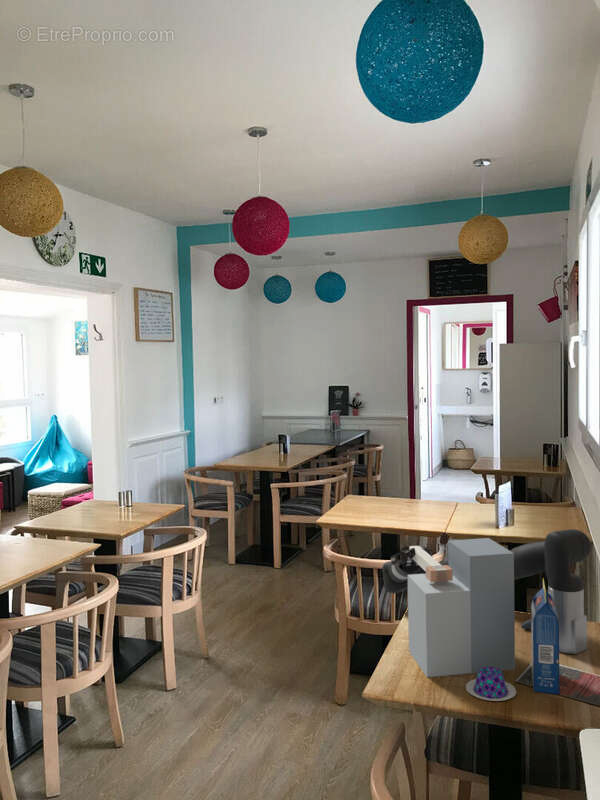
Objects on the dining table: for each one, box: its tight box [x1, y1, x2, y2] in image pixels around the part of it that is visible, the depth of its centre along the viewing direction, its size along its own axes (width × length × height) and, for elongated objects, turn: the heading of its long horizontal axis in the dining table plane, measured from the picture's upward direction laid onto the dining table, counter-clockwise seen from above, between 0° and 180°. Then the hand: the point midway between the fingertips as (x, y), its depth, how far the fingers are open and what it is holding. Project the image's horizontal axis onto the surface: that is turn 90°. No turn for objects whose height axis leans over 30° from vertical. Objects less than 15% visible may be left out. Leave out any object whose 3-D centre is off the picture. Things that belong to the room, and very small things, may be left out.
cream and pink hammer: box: [408, 545, 453, 582], centre depth 191 cm, size 24×6×3 cm, turn 8°
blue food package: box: [530, 578, 560, 695], centre depth 170 cm, size 6×12×25 cm, turn 163°
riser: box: [407, 537, 516, 678], centre depth 184 cm, size 16×24×31 cm, turn 98°
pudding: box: [465, 667, 517, 702], centre depth 167 cm, size 12×12×5 cm
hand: (420, 551), depth 198 cm, fingers closed on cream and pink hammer, 3 cm apart
